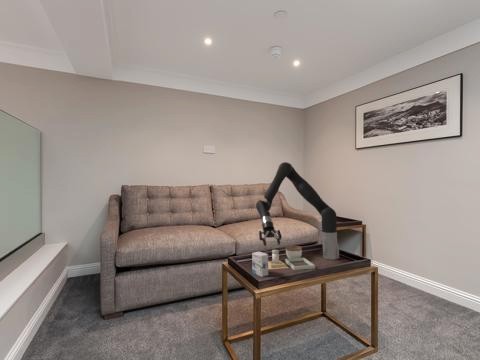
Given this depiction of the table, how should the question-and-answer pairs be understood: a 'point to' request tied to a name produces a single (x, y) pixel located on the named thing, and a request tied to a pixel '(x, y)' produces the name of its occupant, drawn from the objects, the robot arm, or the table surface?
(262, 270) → the ink box
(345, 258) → the table surface
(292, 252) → the lidded jar
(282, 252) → the table surface
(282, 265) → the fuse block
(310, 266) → the parts tray
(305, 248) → the table surface
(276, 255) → the fuse
